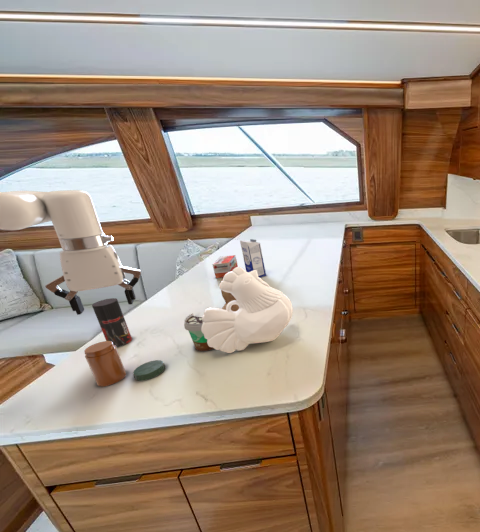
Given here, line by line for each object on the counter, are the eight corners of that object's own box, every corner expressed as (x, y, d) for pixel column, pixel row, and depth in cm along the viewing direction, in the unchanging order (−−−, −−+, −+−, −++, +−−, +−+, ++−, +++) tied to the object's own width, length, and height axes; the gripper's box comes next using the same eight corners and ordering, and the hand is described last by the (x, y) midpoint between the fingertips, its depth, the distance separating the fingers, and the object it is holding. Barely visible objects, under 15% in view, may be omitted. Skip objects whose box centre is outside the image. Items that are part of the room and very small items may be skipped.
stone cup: (249, 318, 114) (241, 281, 109) (215, 321, 112) (206, 284, 107) (259, 301, 128) (252, 268, 123) (229, 304, 126) (221, 271, 121)
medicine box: (222, 269, 169) (219, 256, 167) (238, 267, 171) (235, 254, 169) (215, 278, 156) (211, 264, 153) (232, 276, 158) (229, 262, 155)
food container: (181, 349, 95) (172, 322, 91) (198, 339, 100) (191, 313, 97) (210, 356, 91) (203, 327, 88) (227, 345, 97) (220, 317, 93)
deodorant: (129, 344, 98) (114, 303, 94) (105, 349, 96) (88, 308, 91) (133, 335, 103) (119, 296, 98) (111, 341, 101) (95, 301, 96)
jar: (95, 389, 78) (80, 356, 75) (99, 377, 83) (85, 345, 79) (124, 380, 81) (111, 347, 78) (127, 369, 86) (115, 337, 83)
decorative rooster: (300, 304, 109) (245, 256, 100) (302, 315, 94) (238, 261, 86) (248, 356, 104) (186, 311, 96) (242, 377, 90) (168, 325, 81)
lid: (165, 362, 89) (164, 357, 88) (164, 374, 84) (163, 368, 83) (136, 371, 85) (134, 365, 85) (133, 384, 80) (131, 378, 79)
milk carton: (247, 276, 157) (239, 240, 151) (259, 273, 162) (252, 237, 156) (254, 279, 153) (246, 241, 146) (266, 275, 158) (259, 239, 151)
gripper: (133, 235, 79) (150, 294, 84) (37, 245, 70) (63, 311, 75) (129, 241, 73) (148, 304, 79) (23, 252, 64) (53, 323, 69)
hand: (107, 307), depth 77 cm, fingers open, 9 cm apart
